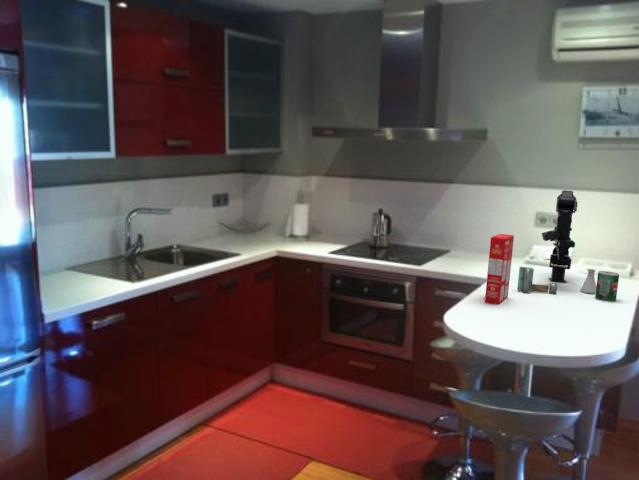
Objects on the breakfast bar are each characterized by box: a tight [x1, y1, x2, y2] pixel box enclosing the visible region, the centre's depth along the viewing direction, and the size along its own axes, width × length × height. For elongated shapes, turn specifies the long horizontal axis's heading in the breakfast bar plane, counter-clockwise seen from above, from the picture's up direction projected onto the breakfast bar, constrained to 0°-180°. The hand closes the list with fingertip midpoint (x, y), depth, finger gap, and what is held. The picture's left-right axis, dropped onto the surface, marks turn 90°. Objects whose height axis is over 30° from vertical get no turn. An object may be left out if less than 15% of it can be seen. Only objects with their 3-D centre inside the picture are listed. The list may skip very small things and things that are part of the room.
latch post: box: [522, 269, 531, 295], centre depth 247 cm, size 2×2×10 cm
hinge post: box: [548, 283, 558, 295], centre depth 249 cm, size 3×3×4 cm
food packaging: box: [484, 233, 515, 305], centre depth 231 cm, size 15×5×25 cm, turn 150°
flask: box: [579, 268, 597, 295], centre depth 255 cm, size 7×7×10 cm
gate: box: [516, 266, 550, 294], centre depth 250 cm, size 12×4×10 cm, turn 83°
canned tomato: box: [594, 270, 620, 303], centre depth 243 cm, size 8×8×11 cm
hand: (559, 260), depth 261 cm, fingers closed
